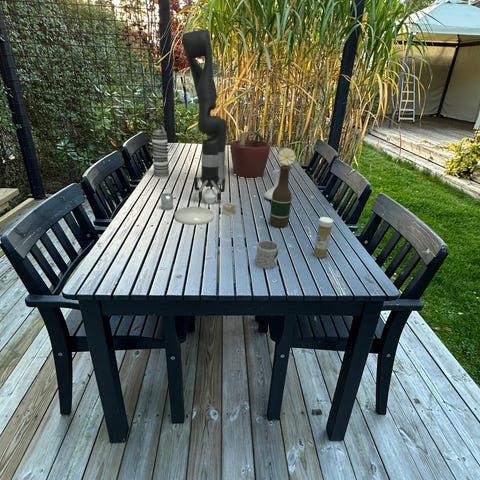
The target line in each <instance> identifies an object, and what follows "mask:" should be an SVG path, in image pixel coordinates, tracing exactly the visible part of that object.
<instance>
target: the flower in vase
mask: <svg viewBox="0 0 480 480" xmlns="http://www.w3.org/2000/svg"><path fill="white" fill-rule="evenodd" d="M296 157H297V156H296V153H295V151H294V149H291V148H288V147H286V148H283V149H281V150H280V151H279V153H278V155H277V159H278V161H279V163H280V164H282V165H286V166H289V167H290V170H289V171H291V170H293V166H292V164H294V162H295V160H296ZM274 167H276V168H278V169H275V170H273V171H272V172H273V175H274V185H273V187H271V188H270V189H268V190H267V191H266V192H264V194H263V197H265V199H268V200H269V201H272V194H273V191H274V189H275V188H276V187H277V186H278V182H279V177H280V171H281V169H280V167H281V166H278V165H276V164H275V163H274Z"/></svg>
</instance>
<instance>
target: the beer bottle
mask: <svg viewBox="0 0 480 480" xmlns="http://www.w3.org/2000/svg"><path fill="white" fill-rule="evenodd" d="M279 167H280V168H279V170H281V171H280V177H279V182H278V186H277V187H276V188H275V189H274V191H273V194H272V200H271V202H270V203H271V204H270V214H269V224H270V226H271V227H274V228H275V229H277V228H278V229H280V228H281V229H283V228H286V227H288V226H289V222H290V213H291V205H292V191H291V189H290V188H289V176H290V173H289V172H290V171H291V170H290V167H289V166H286V165H284V164H282V165H281V166H279Z"/></svg>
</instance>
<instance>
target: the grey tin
mask: <svg viewBox="0 0 480 480" xmlns="http://www.w3.org/2000/svg"><path fill="white" fill-rule="evenodd" d="M160 205H161V207H160V208H161V210H163V211H172V210H173V209H174V195H173V194H172V193H168V192H166V193H162V194H160Z"/></svg>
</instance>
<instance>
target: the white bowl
mask: <svg viewBox="0 0 480 480" xmlns="http://www.w3.org/2000/svg"><path fill="white" fill-rule="evenodd" d="M174 219H175V221H176V222H178V223H181V224H183V225H189V226H190V225H191V226H198V225H199V226H200V225H204V224H205V225H206V224H209V223H211V222H213V220H214V219H215V212H214V211H213V210H211V209H209V208H207V207H201V206H185V207H182V208H179V209H177V210H176V211H175V212H174Z"/></svg>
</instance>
